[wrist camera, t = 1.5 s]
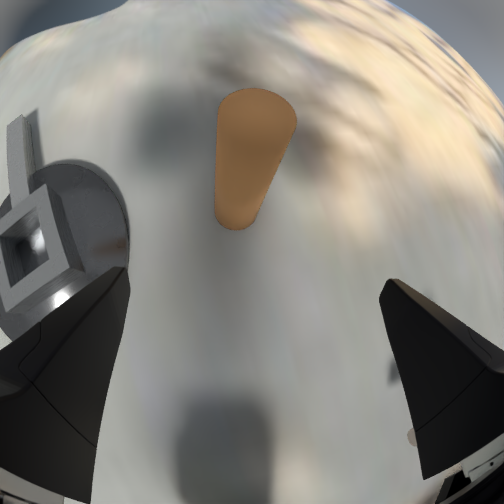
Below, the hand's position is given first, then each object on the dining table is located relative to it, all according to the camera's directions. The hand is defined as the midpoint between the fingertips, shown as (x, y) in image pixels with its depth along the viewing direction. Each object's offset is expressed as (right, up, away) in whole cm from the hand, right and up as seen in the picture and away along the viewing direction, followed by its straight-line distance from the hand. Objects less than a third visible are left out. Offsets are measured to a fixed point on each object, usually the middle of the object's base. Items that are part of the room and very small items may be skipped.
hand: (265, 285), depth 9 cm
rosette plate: (-22, +4, +12) cm, 25 cm away
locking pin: (-2, +5, +15) cm, 16 cm away
